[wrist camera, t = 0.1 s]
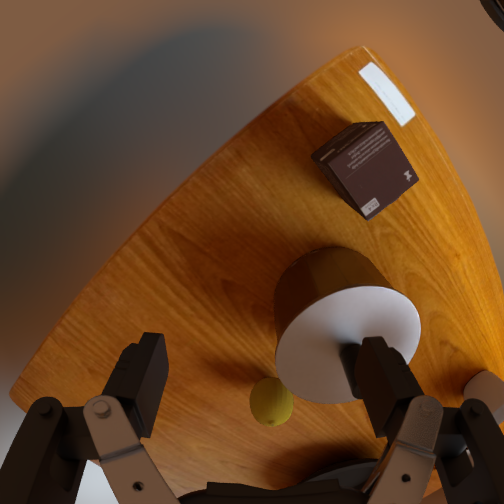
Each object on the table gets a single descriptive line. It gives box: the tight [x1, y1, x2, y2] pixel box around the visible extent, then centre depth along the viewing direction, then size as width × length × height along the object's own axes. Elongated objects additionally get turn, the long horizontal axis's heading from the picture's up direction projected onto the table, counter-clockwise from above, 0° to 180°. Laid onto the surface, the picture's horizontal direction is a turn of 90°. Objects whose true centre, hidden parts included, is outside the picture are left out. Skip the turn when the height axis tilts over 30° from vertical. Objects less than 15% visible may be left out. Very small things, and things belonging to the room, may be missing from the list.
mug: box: [464, 370, 504, 425], centre depth 38 cm, size 13×9×10 cm
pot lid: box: [275, 283, 421, 404], centre depth 23 cm, size 14×14×6 cm
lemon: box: [250, 377, 294, 426], centre depth 35 cm, size 6×6×8 cm
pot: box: [273, 247, 393, 343], centre depth 30 cm, size 13×13×10 cm
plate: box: [297, 458, 379, 491], centre depth 48 cm, size 28×24×6 cm
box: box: [311, 121, 419, 221], centre depth 25 cm, size 6×6×7 cm
